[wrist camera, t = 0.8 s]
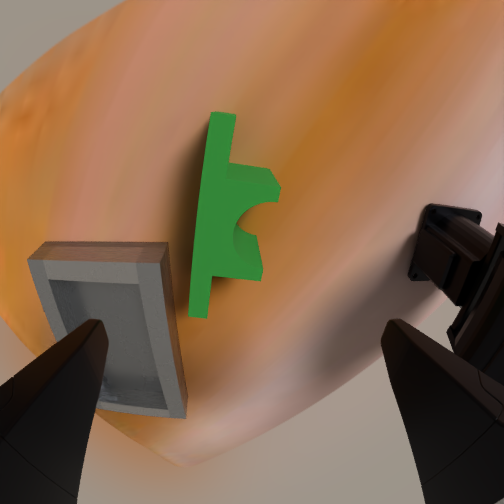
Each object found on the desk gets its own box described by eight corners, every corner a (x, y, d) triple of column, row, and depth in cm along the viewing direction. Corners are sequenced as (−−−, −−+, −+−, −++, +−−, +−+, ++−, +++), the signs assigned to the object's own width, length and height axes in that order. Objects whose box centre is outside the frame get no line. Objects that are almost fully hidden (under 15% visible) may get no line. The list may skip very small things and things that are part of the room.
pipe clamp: (246, 281, 22) (251, 323, 17) (194, 275, 21) (187, 317, 17) (278, 120, 16) (294, 126, 12) (215, 110, 16) (210, 112, 12)
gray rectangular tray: (168, 242, 19) (159, 263, 17) (187, 396, 27) (186, 418, 25) (45, 241, 18) (26, 259, 16) (97, 386, 26) (90, 407, 24)
